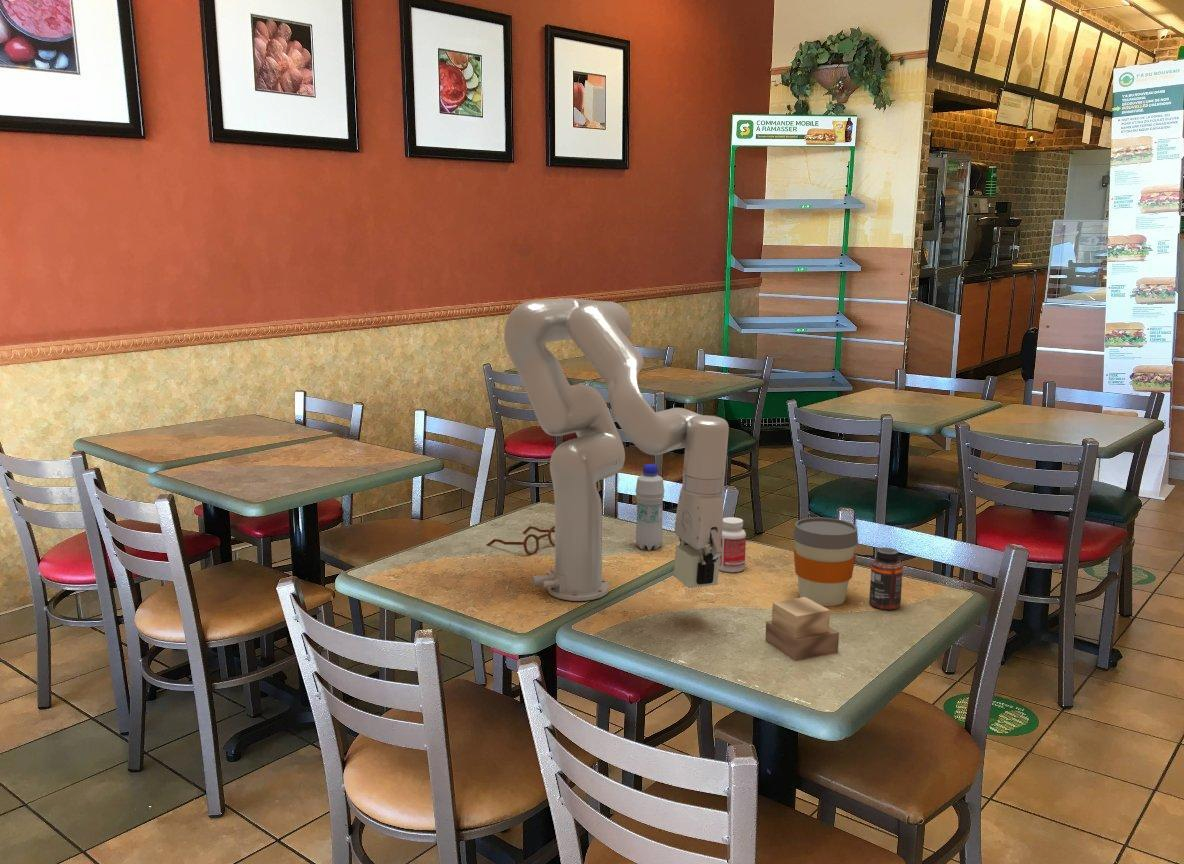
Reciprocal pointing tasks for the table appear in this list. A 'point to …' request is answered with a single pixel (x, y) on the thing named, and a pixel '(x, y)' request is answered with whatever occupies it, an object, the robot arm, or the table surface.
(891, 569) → the supplement bottle
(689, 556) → the sage cube
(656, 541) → the bottle
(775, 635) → the walnut block
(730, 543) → the pill bottle
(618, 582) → the table surface
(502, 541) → the glasses
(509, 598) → the table surface
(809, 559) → the reusable coffee cup
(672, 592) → the table surface
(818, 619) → the oak block
